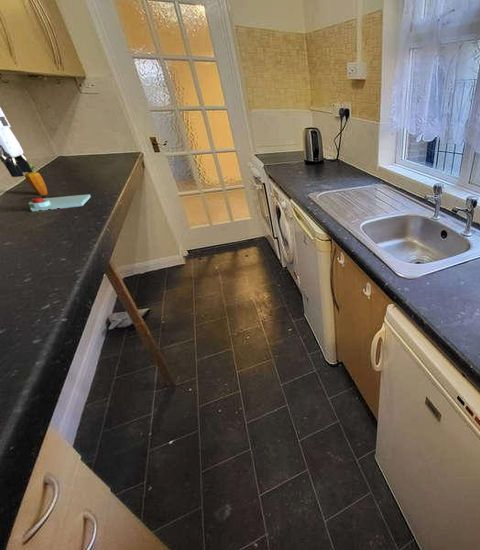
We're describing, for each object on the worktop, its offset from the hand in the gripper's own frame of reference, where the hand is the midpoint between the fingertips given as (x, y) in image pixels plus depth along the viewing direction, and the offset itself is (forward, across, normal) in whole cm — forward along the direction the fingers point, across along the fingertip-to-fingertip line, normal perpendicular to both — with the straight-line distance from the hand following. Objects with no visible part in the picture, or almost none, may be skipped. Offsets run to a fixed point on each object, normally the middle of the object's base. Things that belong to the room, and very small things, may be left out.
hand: (22, 173), depth 114 cm
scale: (+14, -4, +6) cm, 16 cm away
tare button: (+11, 0, 0) cm, 11 cm away
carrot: (+14, -16, -4) cm, 22 cm away
